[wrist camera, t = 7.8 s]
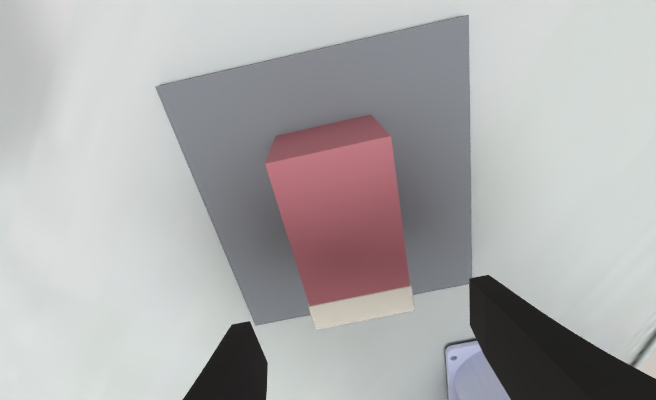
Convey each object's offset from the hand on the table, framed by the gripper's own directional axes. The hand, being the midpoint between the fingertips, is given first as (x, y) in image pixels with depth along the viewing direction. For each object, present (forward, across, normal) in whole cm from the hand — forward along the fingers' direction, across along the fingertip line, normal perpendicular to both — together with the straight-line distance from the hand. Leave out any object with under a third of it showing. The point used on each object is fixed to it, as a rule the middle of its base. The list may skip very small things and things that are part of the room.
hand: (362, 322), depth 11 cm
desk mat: (+9, 0, 0) cm, 9 cm away
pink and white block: (+9, 0, 0) cm, 9 cm away
